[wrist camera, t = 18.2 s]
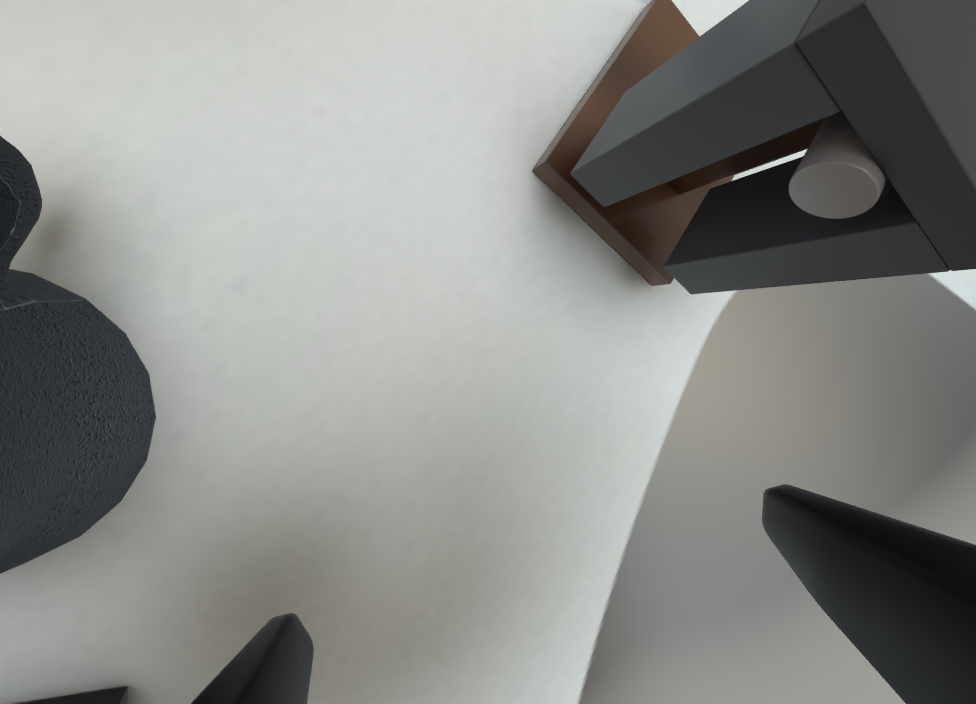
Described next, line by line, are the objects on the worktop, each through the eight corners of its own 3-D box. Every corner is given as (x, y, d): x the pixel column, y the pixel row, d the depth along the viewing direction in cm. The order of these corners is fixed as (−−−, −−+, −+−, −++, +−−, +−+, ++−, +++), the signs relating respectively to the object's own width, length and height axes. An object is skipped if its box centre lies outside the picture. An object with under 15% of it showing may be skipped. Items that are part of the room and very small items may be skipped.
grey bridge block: (690, 294, 19) (1021, 266, 10) (568, 173, 16) (865, 1, 8) (735, 217, 19) (1080, 129, 11) (624, 91, 17) (952, -151, 8)
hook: (637, 311, 22) (1013, 290, 10) (512, 197, 19) (828, -3, 8) (744, 132, 24) (1161, -56, 12) (644, 6, 21) (1054, -383, 10)
